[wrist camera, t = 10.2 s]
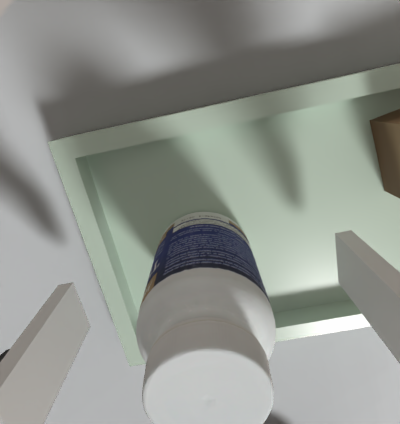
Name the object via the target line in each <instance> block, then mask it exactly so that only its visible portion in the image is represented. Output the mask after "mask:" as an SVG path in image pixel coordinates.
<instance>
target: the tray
mask: <svg viewBox="0 0 400 424" xmlns="http://www.w3.org/2000/svg"><path fill="white" fill-rule="evenodd" d="M398 109H400V63H398V64H393V65H389V66H384V67H380V68H375V69H371V70H366V71H362V72H357V73H352V74H348V75H343V76H339V77H334V78H330V79H325V80H321V81H316V82H312V83H307V84H303V85H298V86H294V87H289V88H285V89H280V90H276V91H271V92H267V93H262V94H258V95H253V96H249V97H244V98H240V99H235V100H231V101H226V102H222V103H217V104H212V105H208V106H203V107H199V108H194V109H190V110H185V111H181V112H176V113H172V114H167V115H163V116H158V117H154V118H149V119H145V120H140V121H136V122H131V123H127V124H122V125H118V126H113V127H109V128H104V129H100V130H95V131H91V132H86V133H82V134H77V135H72V136H68V137H64V138H60V139H57V140H53V141H50V142H48V144H49V147H50V150H51V153H52V155H53V158H54V161H55V164H56V166H57V169H58V172H59V174H60V177H61V180H62V183H63V185H64V188H65V191H66V194H67V196H68V199H69V202H70V205H71V207H72V210H73V213H74V215H75V218H76V221H77V224H78V226H79V229H80V232H81V235H82V237H83V240H84V243H85V246H86V248H87V251H88V254H89V256H90V259H91V262H92V265H93V267H94V270H95V273H96V276H97V278H98V281H99V284H100V286H101V289H102V292H103V295H104V297H105V300H106V303H107V306H108V308H109V311H110V314H111V317H112V319H113V322H114V325H115V327H116V330H117V333H118V336H119V338H120V341H121V344H122V347H123V349H124V352H125V355H126V358H127V360H128V363H129V366H136V365H142V364H146V363H145V361H144V360H143V358H142V355H141V353H140V351H139V347H138V344H137V337H136V325H137V319H138V314H139V310H140V306H141V302H142V299H143V296H144V292H145V288H146V286H147V282H148V278H149V275H150V271H151V268H152V264H153V261H154V257H155V254H156V251H157V247H158V245H159V242H160V239H161V237H162V235H163V233H164V232H165V230H166V229H167V228H168V227H169V225H170V224H172V223H173V222H174V221H175V220H177V219H179V218H181V217H183V216H185V215H187V214H190V213H195V212H213V213H218V214H221V215H224V216H226V217H228V218H230V219H231V220H233V221H234V222H235V223H237V224H238V225H239V226H240V228H241V229H242V230H243V232H244V233H245V235H246V237H247V239H248V241H249V244H250V247H251V249H252V252H253V255H254V258H255V261H256V264H257V267H258V270H259V273H260V276H261V279H262V282H263V285H264V287H265V290H266V293H267V296H268V298H269V301H270V305H271V308H272V311H273V315H274V319H275V326H276V338H275V342H279V341H285V340H291V339H297V338H303V337H309V336H315V335H321V334H327V333H333V332H339V331H345V330H351V329H357V328H363V327H369V326H371V325H370V324H369V322H368V321H367V320H366V318H365V317H364V316H363V314H362V313H361V312H360V310H359V309H358V308H357V306H356V305H355V304H354V302H353V301H352V300H351V298H350V297H349V296H348V294H347V293H346V292H345V290H344V289H343V288H342V286H341V285H340V284H339V282H338V270H337V256H336V242H335V233H339V232H344V231H349V230H352V231H353V232H354V233H355V234H356V235H357V236H358V237H360V238H361V239H362V240H363V241H364V242H365V243H367V244H368V245H369V246H370V247H371V248H372V249H373V250H375V251H376V252H377V253H378V254H379V255H380V256H381V257H383V258H384V259H385V260H386V261H387V262H388V263H390V264H391V265H392V266H393V267H394V268H395V269H396V270H398V271H399V272H400V198H398V197H396V196H394V195H392V194H390V193H388V192H386V191H384V186H383V182H382V177H381V172H380V167H379V163H378V158H377V153H376V149H375V144H374V139H373V135H372V130H371V125H370V121H369V120H372V119H374V118H377V117H380V116H382V115H385V114H387V113H390V112H392V111H395V110H398Z"/></svg>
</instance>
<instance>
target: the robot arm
mask: <svg viewBox="0 0 400 424" xmlns="http://www.w3.org/2000/svg"><path fill="white" fill-rule="evenodd" d="M335 242H336V256H337V270H338V282H339V284H340V285H341V286H342V288H343V289H344V290H345V292H346V293H347V294H348V296H349V297H350V298H351V300H352V301H353V302H354V304H355V305H356V306H357V308H358V309H359V310H360V312H361V313H362V314H363V316H364V317H365V318H366V320H367V321H368V322H369V324H370V325H371V326H372V328H373V329H374V330H375V332H376V333H377V334H378V336H379V337H380V338H381V339H382V341H383V342H384V343H385V345H386V346H387V347H388V349H389V350H390V351H391V353H392V354H393V355H394V357H395V358H396V359H397V361H398V362H399V363H400V272H399V271H398V270H396V269H395V268H394V267H393V266H392V265H391V264H390V263H388V262H387V261H386V260H385V259H384V258H383V257H381V256H380V255H379V254H378V253H377V252H376V251H375V250H373V249H372V248H371V247H370V246H369V245H368V244H367V243H365V242H364V241H363V240H362V239H361V238H360V237H358V236H357V235H356V234H355V233H354V232H353V231H352V230H349V231H344V232H339V233H335ZM89 328H90V324H89V322H88V319H87V317H86V314H85V312H84V309H83V307H82V304H81V302H80V299H79V296H78V294H77V291H76V289H75V286H74V284H73V283H67V284H62V285H58V286H57V288H56V289H55V290H54V292H53V293H52V294H51V296H50V297H49V298H48V300H47V301H46V302H45V304H44V305H43V306H42V308H41V309H40V310H39V312H38V313H37V314H36V316H35V317H34V318H33V320H32V321H31V322H30V324H29V325H28V326H27V327H26V329H25V330H24V331H23V333H22V334H21V335H20V337H19V338H18V339H17V341H16V342H15V343H14V345H13V346H12V347H11V349H8V350H6V351H5V352H4V353H2V354H1V355H0V424H44V422H45V420H46V418H47V416H48V414H49V412H50V410H51V408H52V405H53V403H54V401H55V399H56V397H57V395H58V393H59V391H60V389H61V387H62V385H63V383H64V380H65V378H66V376H67V374H68V372H69V370H70V368H71V366H72V364H73V362H74V360H75V358H76V355H77V353H78V351H79V349H80V347H81V345H82V343H83V341H84V339H85V337H86V335H87V333H88V330H89Z"/></svg>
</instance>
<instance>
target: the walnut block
mask: <svg viewBox="0 0 400 424" xmlns="http://www.w3.org/2000/svg"><path fill="white" fill-rule="evenodd" d="M369 121H370V125H371V130H372V135H373V139H374V144H375V149H376V153H377V158H378V163H379V167H380V172H381V177H382V182H383V186H384V191H386V192H388V193H390V194H392V195H394V196H396V197H398V198H400V109H398V110H395V111H392V112H390V113H387V114H385V115H382V116H380V117H377V118H374V119H372V120H369Z"/></svg>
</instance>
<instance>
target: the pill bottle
mask: <svg viewBox="0 0 400 424" xmlns="http://www.w3.org/2000/svg"><path fill="white" fill-rule="evenodd" d="M136 337H137V344H138V347H139V351H140V353H141V355H142V358H143V360H144V361H145V363H146V369H145V375H144V382H143V391H142V401H143V406H144V409H145V412H146V414H147V416H148V417H149V419H150V420H151V421H152V423H153V424H263V423H264V422H265V420H266V419H267V417H268V415H269V414H270V411H271V409H272V406H273V401H274V389H273V383H272V379H271V374H270V370H269V361H268V360H269V358H270V356H271V354H272V352H273V348H274V345H275V338H276V326H275V319H274V315H273V311H272V308H271V305H270V301H269V298H268V296H267V293H266V290H265V287H264V285H263V282H262V279H261V276H260V273H259V270H258V267H257V264H256V261H255V258H254V255H253V252H252V249H251V247H250V244H249V241H248V239H247V237H246V235H245V233H244V232H243V230H242V229H241V228H240V226H239V225H238V224H237V223H235V222H234V221H233V220H231V219H230V218H228V217H226V216H224V215H221V214H218V213H213V212H195V213H190V214H187V215H185V216H183V217H181V218H179V219H177V220H175V221H174V222H173V223H172V224H170V225H169V227H168V228H167V229H166V230H165V232H164V233H163V235H162V237H161V239H160V242H159V245H158V247H157V251H156V254H155V257H154V261H153V264H152V268H151V271H150V275H149V278H148V282H147V286H146V288H145V292H144V296H143V299H142V302H141V306H140V310H139V314H138V319H137V325H136Z"/></svg>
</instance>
